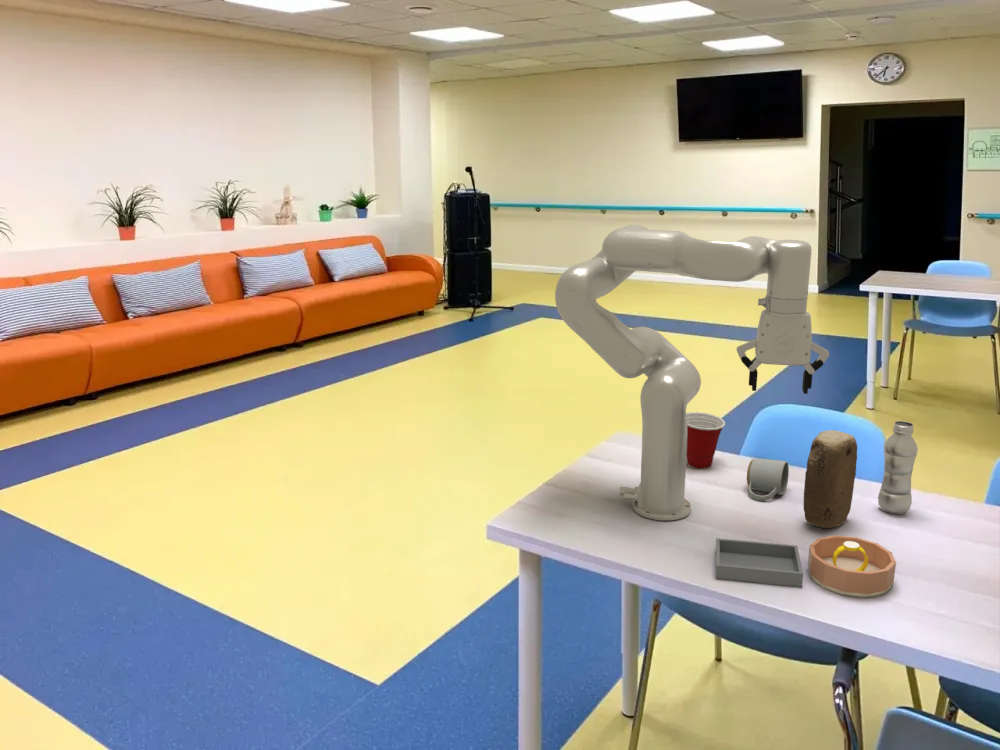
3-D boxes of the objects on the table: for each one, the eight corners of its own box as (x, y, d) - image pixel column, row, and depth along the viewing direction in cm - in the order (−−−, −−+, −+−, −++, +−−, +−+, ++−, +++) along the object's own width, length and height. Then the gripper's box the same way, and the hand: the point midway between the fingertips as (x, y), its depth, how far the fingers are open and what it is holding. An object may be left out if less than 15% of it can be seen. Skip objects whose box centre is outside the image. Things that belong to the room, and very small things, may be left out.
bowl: (812, 592, 156) (815, 568, 155) (804, 555, 170) (806, 532, 168) (899, 601, 153) (902, 576, 152) (883, 562, 166) (886, 539, 165)
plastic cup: (709, 476, 208) (712, 429, 204) (669, 465, 215) (671, 419, 211) (730, 463, 215) (733, 417, 212) (691, 453, 222) (694, 408, 219)
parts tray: (715, 578, 161) (716, 565, 161) (715, 550, 172) (716, 538, 171) (801, 587, 158) (803, 573, 157) (796, 558, 168) (797, 545, 168)
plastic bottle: (902, 520, 184) (913, 431, 178) (870, 510, 189) (881, 423, 183) (915, 511, 188) (927, 424, 182) (884, 502, 193) (895, 416, 187)
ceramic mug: (752, 481, 205) (754, 451, 202) (788, 488, 201) (790, 457, 198) (740, 498, 196) (742, 467, 194) (777, 505, 192) (780, 473, 190)
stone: (828, 537, 177) (837, 445, 171) (795, 526, 182) (804, 436, 176) (854, 519, 185) (864, 430, 179) (822, 509, 189) (831, 422, 184)
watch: (834, 577, 160) (835, 547, 159) (831, 569, 163) (831, 541, 161) (868, 577, 159) (869, 547, 158) (864, 569, 162) (865, 540, 160)
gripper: (740, 307, 165) (734, 393, 170) (836, 311, 162) (827, 398, 166) (738, 300, 172) (733, 382, 177) (831, 303, 169) (823, 387, 173)
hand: (779, 390), depth 172 cm, fingers open, 9 cm apart
